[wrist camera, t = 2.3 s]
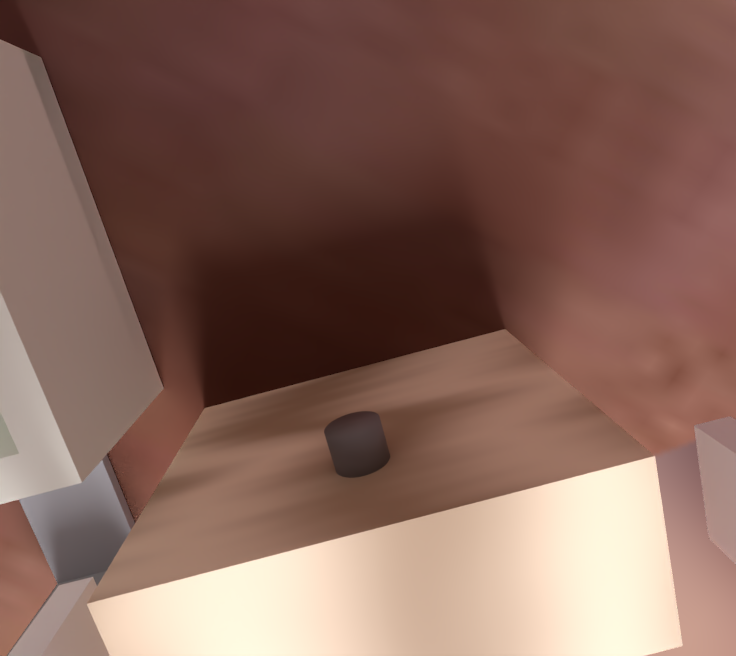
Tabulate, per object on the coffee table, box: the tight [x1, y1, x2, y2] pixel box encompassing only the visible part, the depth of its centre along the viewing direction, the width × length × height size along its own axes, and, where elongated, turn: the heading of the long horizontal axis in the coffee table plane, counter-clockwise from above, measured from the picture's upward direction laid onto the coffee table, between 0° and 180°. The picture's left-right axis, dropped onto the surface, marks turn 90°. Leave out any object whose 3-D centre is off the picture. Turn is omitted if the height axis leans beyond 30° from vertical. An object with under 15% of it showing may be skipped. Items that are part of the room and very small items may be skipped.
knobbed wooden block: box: [87, 329, 682, 656], centre depth 15 cm, size 10×5×9 cm, turn 104°
